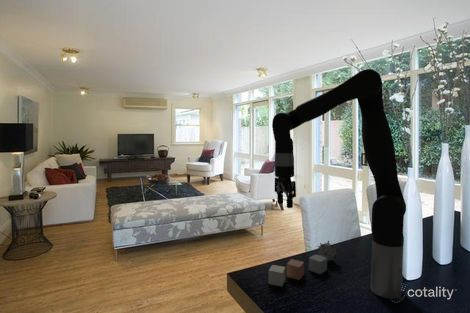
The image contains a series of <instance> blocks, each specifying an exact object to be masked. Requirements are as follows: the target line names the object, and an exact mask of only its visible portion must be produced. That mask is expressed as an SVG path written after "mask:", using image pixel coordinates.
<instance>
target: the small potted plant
mask: <svg viewBox="0 0 470 313" xmlns="http://www.w3.org/2000/svg"><path fill="white" fill-rule="evenodd" d="M319 245H320V246H319ZM319 245H318V246H317V248H318V251H317V253H315V254H316V255H319V256H322V257H325V258H327V263H328V262H331V261H332V262H334V260H335V259H337V257H336V255H337V252H338V251H339V249H336V248H335V247H334V245H333V244H331V243H330V241H329V240H327V242H326V243H321V242H320V244H319Z"/></svg>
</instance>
